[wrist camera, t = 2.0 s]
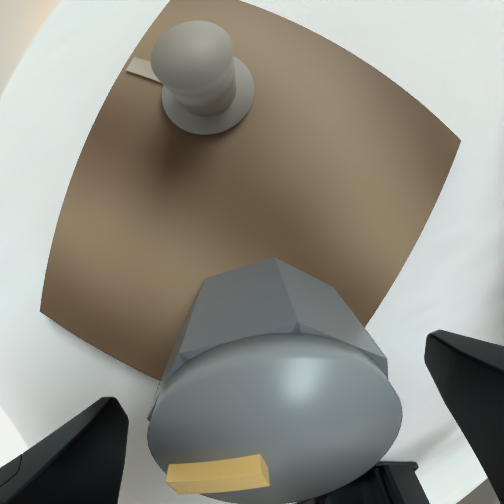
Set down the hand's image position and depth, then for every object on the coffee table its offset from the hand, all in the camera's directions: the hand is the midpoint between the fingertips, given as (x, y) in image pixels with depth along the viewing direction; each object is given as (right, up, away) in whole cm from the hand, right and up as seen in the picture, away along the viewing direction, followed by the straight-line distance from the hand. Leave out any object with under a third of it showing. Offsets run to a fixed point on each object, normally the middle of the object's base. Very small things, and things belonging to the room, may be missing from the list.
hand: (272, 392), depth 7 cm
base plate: (-1, +5, +2) cm, 5 cm away
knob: (0, +1, +2) cm, 3 cm away
